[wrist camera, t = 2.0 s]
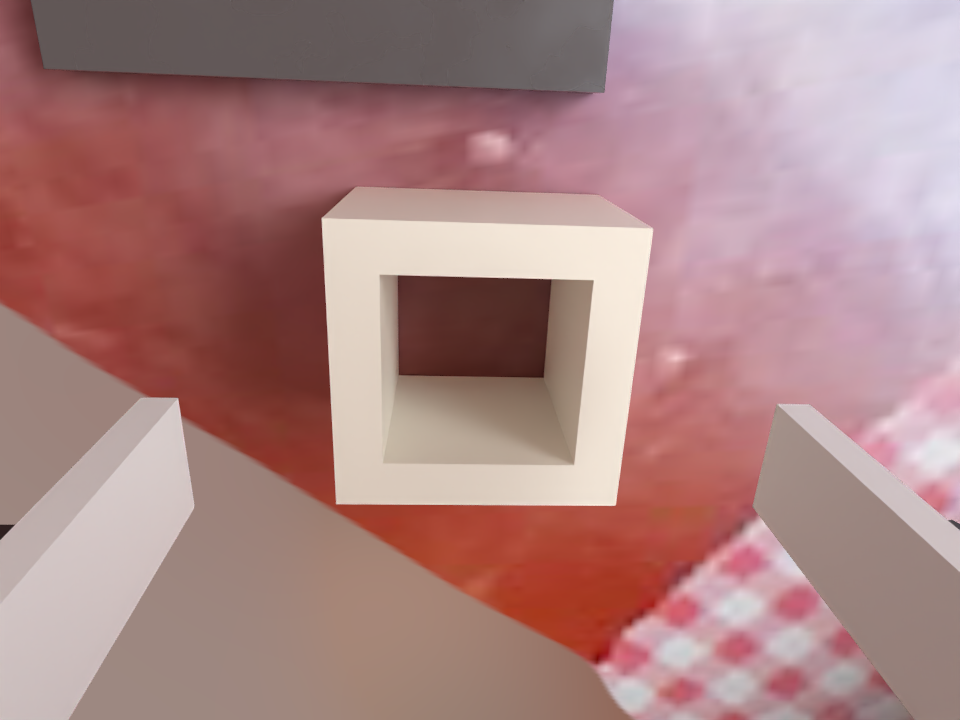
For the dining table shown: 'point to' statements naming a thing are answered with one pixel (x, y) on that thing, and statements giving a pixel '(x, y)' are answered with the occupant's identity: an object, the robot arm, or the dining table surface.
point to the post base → (337, 40)
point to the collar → (482, 400)
